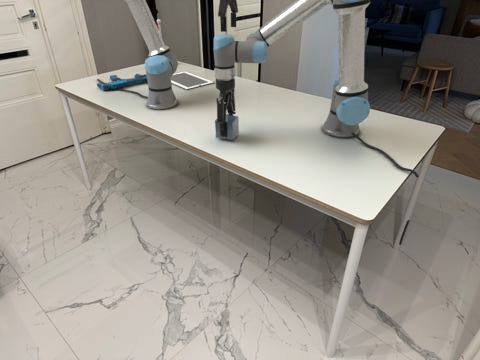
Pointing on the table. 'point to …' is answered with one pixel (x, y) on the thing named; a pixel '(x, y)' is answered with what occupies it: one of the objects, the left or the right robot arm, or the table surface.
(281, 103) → the table surface
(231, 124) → the grey cube
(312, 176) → the table surface
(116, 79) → the submachine gun
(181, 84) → the tablet
